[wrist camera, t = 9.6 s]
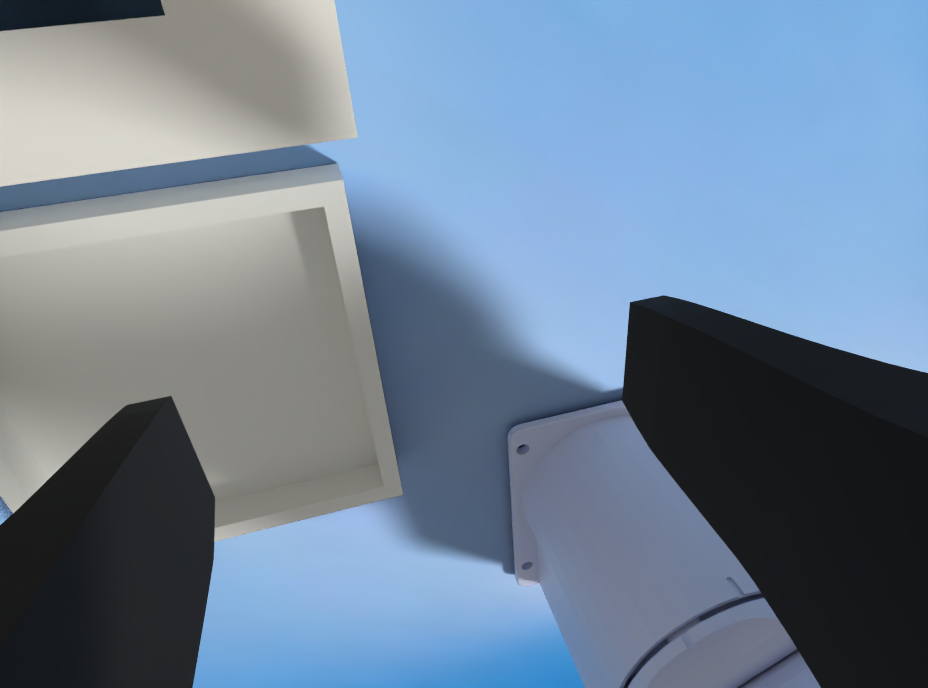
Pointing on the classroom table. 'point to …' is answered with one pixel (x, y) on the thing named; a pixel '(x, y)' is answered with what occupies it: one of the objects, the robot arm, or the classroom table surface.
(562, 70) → the classroom table surface
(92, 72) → the socket block
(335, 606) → the classroom table surface
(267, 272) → the tray
